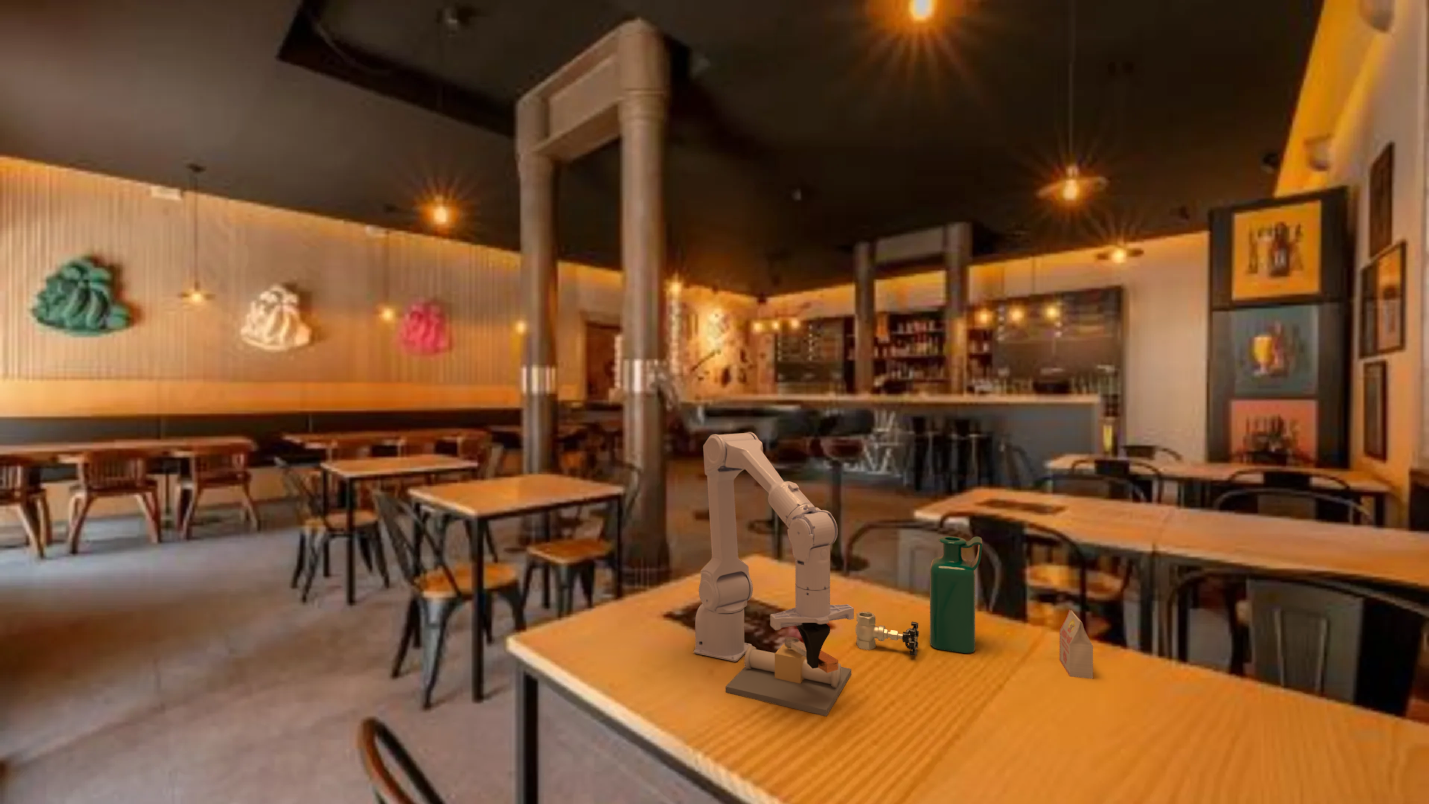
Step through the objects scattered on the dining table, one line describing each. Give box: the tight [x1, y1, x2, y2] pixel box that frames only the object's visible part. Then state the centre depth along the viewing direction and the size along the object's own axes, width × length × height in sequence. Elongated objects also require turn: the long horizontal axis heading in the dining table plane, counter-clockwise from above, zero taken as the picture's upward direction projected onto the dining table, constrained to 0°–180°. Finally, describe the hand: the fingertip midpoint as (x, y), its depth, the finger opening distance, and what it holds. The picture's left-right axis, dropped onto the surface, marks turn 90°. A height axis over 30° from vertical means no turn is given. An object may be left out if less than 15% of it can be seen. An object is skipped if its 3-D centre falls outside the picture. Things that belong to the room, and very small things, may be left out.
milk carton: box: [1059, 609, 1094, 680], centre depth 114 cm, size 4×7×10 cm, turn 165°
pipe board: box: [725, 643, 852, 717], centre depth 109 cm, size 18×16×5 cm
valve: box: [855, 611, 920, 657], centre depth 123 cm, size 7×7×12 cm
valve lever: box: [784, 636, 839, 673], centre depth 106 cm, size 12×3×2 cm, turn 30°
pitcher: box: [929, 535, 983, 654], centre depth 125 cm, size 10×8×22 cm
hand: (812, 665), depth 102 cm, fingers closed, pressing on valve lever
